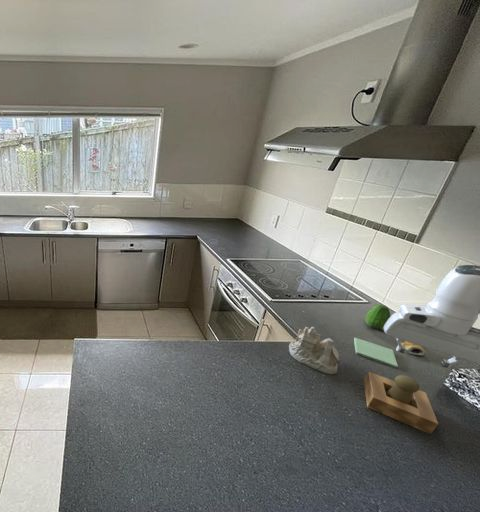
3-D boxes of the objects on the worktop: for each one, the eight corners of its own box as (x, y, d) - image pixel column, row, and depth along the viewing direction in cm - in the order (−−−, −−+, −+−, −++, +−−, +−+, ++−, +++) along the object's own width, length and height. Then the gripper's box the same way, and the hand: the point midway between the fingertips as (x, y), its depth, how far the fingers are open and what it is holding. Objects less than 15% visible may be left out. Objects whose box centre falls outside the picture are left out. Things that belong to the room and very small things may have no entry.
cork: (398, 415, 87) (415, 389, 83) (376, 399, 92) (391, 373, 88) (411, 411, 89) (428, 385, 84) (388, 395, 94) (403, 370, 90)
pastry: (392, 339, 122) (396, 332, 121) (411, 343, 120) (416, 336, 119) (404, 353, 114) (408, 345, 113) (425, 358, 112) (430, 350, 111)
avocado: (358, 324, 132) (369, 302, 128) (367, 320, 135) (378, 299, 131) (379, 334, 126) (391, 311, 121) (388, 330, 129) (400, 308, 124)
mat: (391, 351, 115) (392, 349, 115) (397, 368, 106) (398, 366, 106) (353, 339, 122) (354, 337, 121) (355, 353, 113) (356, 352, 112)
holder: (419, 402, 92) (425, 392, 90) (430, 434, 82) (438, 423, 80) (363, 380, 100) (368, 371, 98) (367, 407, 89) (373, 397, 88)
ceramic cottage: (333, 378, 100) (348, 343, 95) (282, 354, 111) (292, 321, 106) (342, 361, 110) (355, 328, 105) (293, 340, 121) (304, 310, 116)
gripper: (499, 330, 75) (470, 369, 80) (394, 302, 86) (375, 338, 91) (511, 342, 70) (479, 383, 75) (398, 311, 81) (377, 348, 87)
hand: (421, 358), depth 83 cm, fingers open, 8 cm apart
